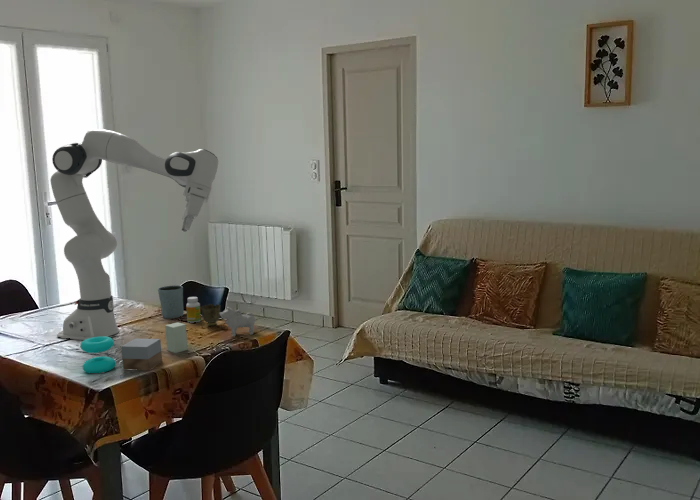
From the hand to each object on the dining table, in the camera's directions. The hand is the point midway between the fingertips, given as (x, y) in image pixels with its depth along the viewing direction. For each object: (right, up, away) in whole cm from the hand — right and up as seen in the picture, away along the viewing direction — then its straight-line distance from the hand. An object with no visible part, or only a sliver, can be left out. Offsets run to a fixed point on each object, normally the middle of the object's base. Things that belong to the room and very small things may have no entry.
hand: (185, 230), depth 248 cm
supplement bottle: (-4, -36, +32) cm, 48 cm away
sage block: (-1, -42, -6) cm, 42 cm away
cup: (+5, -37, +25) cm, 44 cm away
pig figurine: (+17, -38, +11) cm, 44 cm away
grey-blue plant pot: (-15, -35, +43) cm, 57 cm away
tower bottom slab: (-8, -45, -22) cm, 50 cm away
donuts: (-21, -45, -25) cm, 56 cm away
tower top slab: (-9, -41, -23) cm, 47 cm away
